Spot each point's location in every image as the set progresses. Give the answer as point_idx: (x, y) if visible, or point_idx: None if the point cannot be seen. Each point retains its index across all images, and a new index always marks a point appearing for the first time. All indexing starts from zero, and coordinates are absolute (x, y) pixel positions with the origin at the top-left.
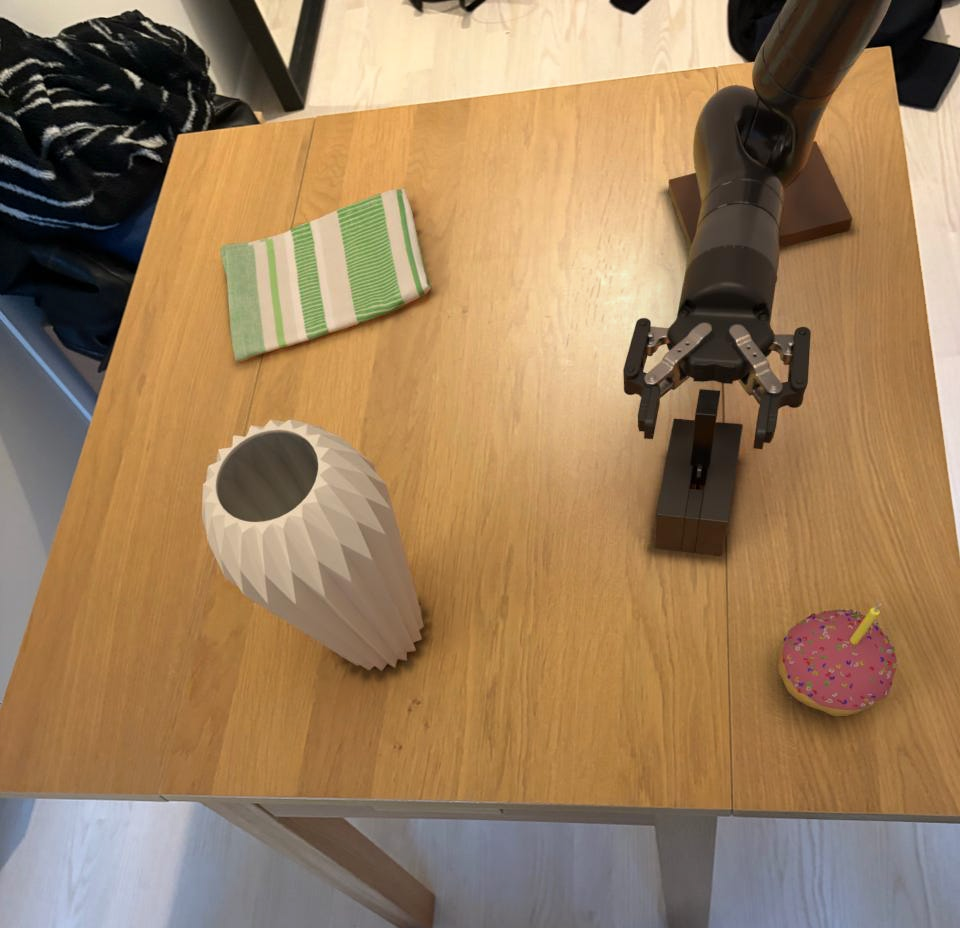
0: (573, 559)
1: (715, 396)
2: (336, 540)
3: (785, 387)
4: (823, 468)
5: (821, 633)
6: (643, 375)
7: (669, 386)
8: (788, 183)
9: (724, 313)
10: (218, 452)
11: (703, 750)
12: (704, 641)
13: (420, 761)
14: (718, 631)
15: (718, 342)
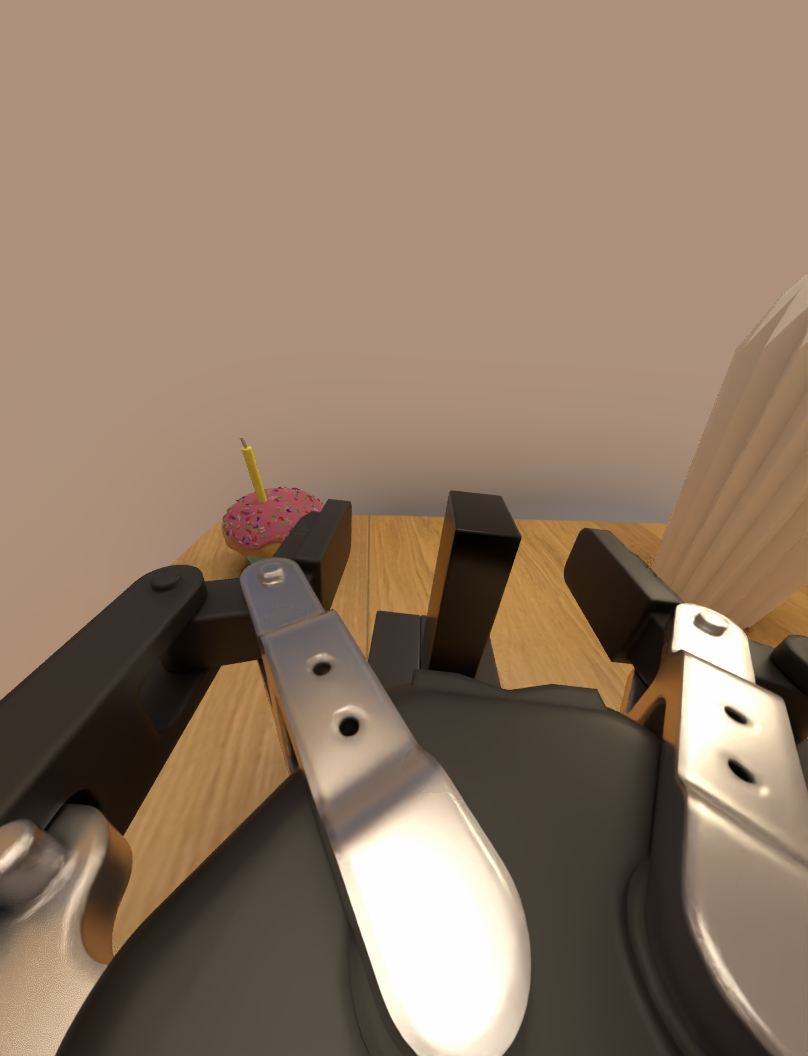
0: (565, 672)
1: (466, 517)
2: (787, 291)
3: (225, 601)
4: (117, 913)
5: (291, 507)
6: (755, 664)
7: (628, 707)
8: None
9: None
10: None
11: (388, 532)
12: (390, 591)
13: (576, 531)
14: (377, 598)
15: (554, 870)
